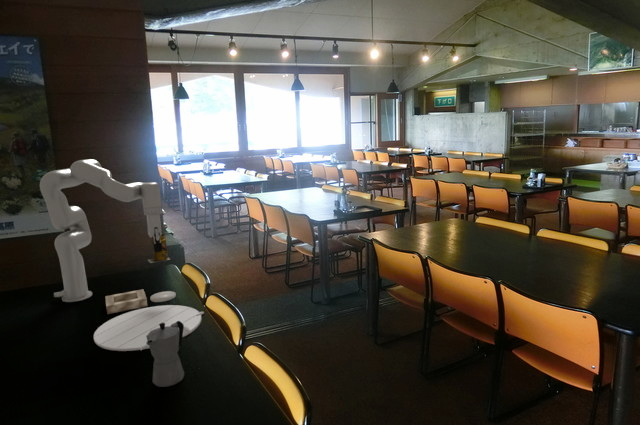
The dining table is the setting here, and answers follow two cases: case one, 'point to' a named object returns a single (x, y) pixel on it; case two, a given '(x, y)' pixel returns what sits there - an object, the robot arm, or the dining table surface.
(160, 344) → the coffeepot
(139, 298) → the holder
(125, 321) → the lazy susan
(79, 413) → the dining table surface
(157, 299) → the coaster
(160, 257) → the condiment
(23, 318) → the dining table surface
